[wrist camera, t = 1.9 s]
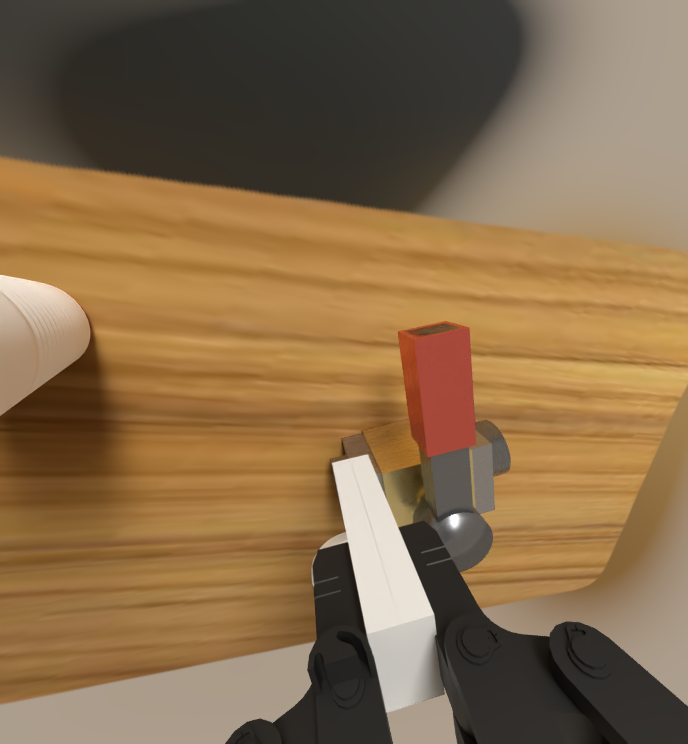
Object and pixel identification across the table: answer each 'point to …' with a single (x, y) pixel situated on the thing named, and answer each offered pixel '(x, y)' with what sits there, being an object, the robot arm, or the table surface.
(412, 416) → the lever
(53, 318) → the cup
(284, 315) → the table surface
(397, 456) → the valve
